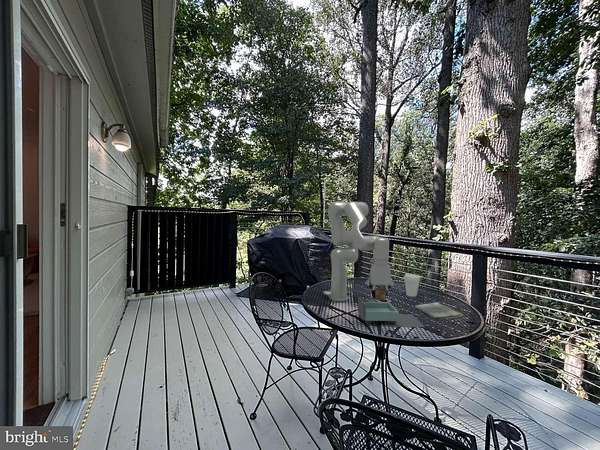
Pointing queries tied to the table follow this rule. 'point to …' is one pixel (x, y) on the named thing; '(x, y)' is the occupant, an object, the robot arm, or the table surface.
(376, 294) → the walnut block
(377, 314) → the mint green cubby
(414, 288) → the foam cup
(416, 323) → the dock mat
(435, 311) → the dish towel
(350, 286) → the table surface
